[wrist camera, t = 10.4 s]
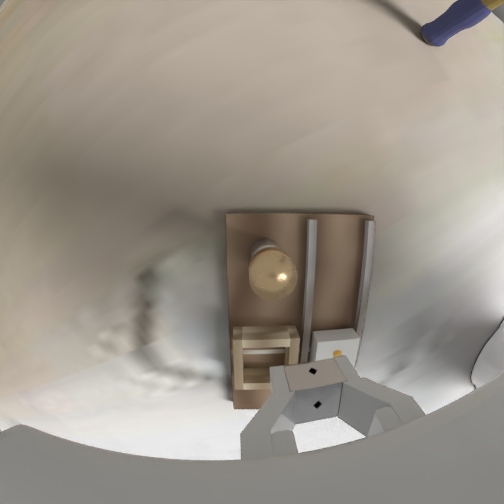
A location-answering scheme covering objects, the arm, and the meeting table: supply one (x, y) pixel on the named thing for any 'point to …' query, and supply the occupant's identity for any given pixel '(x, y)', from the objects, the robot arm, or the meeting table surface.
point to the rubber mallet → (457, 19)
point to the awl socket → (262, 339)
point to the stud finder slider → (334, 344)
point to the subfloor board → (299, 282)
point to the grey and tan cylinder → (271, 271)
